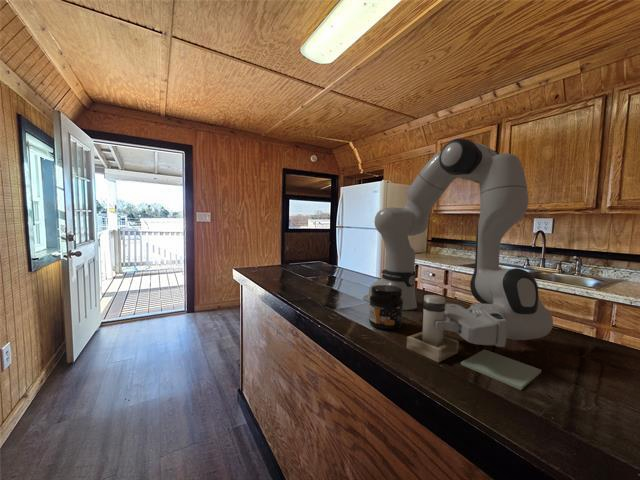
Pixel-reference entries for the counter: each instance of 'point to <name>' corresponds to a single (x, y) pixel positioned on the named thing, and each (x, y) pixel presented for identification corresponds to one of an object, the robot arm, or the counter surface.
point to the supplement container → (386, 307)
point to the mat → (502, 368)
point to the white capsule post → (433, 319)
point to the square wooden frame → (432, 347)
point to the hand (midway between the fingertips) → (430, 320)
